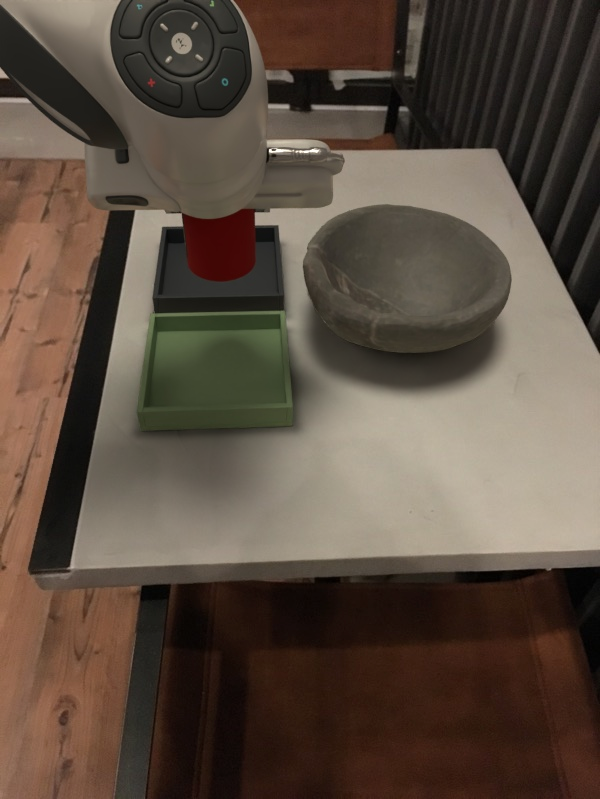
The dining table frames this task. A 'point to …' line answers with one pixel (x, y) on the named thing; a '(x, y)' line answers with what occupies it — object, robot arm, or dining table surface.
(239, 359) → the sage tray
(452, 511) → the dining table surface
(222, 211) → the robot arm
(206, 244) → the beverage can
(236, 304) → the slate tray
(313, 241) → the bowl
